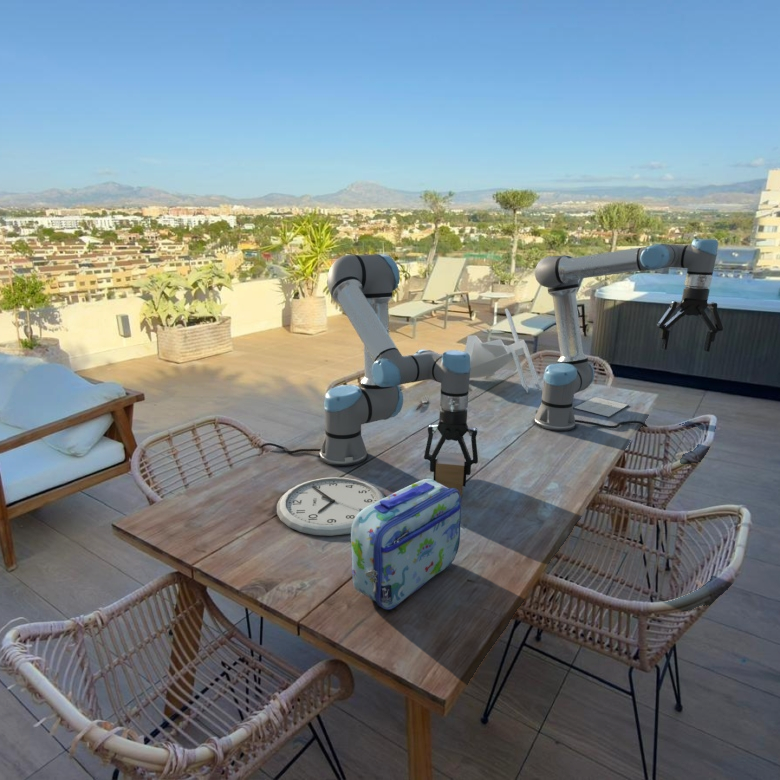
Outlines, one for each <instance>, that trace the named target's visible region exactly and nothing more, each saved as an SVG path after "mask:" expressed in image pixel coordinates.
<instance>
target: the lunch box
mask: <svg viewBox="0 0 780 780" xmlns="http://www.w3.org/2000/svg"><path fill="white" fill-rule="evenodd" d="M461 499H462V498H461V496H460V493H459V491H458V490H457V489H454V488H450V489H449V488H447V487H445V486H443V485H442V484H440V483H438V482H436V481H434V480H433V478H432V479H431V478H424V479H421V480H418V481H416V482H414V483H412V484H410V485H408V486H405V487H404V488H401V489H399V490H397V491H395V492H393V493H392V494H389V495H387V496H385V498H383V499H381V500H379V501H377V502H375V503H374V504H371V505H369V506H367V507H366V508H364V509H362V510H361V511H360V512H359V513H358V514H357V516H356V517H355V519H354V521H353V524H352V529H351V533H350V547H351V548H350V552H351V576H352V584H353V588H354V590H356V591H357V592H359V593H360V594H363V595H365V596H367V597H368V598H369V599H371V600H372V601H374V602H376V604H377V606H378V607H379V608H382V609H384V610H386V611H387V610H388V611H390V610H393V609H394V608H396V607H397V606H398V605H400V604H401V603H402V602H403V601H405V600H406V599H407V598H408V597H409V596H411V595H412V594H413V593H415V592H417V590H419V589H420V588H422V587H423V586H424V585H425V584H426V583H428V581H430V580H431V579H432V578H434V577H435V576H438V574H440V573H441V572H443V571H445V570H446V569H447V568H448V567H449V566H451V564H452V563H453V562H454V560H455V558H456V556H457V554H458V551H459V548H460V541H461V522H462V521H461V519H462V515H461V513H462V512H461V510H462V509H461V508H462V506H461V505H462V504H461V503H462V502H461Z"/></svg>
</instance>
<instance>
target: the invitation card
mask: <svg viewBox="0 0 780 780" xmlns="http://www.w3.org/2000/svg"><path fill="white" fill-rule="evenodd" d="M628 406H629V404H627V403H623V402H618V401H614V400H609V399H605V398H601V397H596V396H593V397H592V398H590V399H588V400H586V401H584V402H582V403H580V404H578V405H575V406H574V407H573V409H575V410H581V411H584V412H587V413H593V414H596V415H600V416H604V417H608V418H609V417H611V416H613V415H614V414H616V413H617V412H619V411H621V410H623V409H624V408H626V407H628Z"/></svg>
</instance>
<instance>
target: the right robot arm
mask: <svg viewBox="0 0 780 780" xmlns="http://www.w3.org/2000/svg"><path fill="white" fill-rule="evenodd" d="M718 246H719V241H718V240H717V239H713V238H711V239H709V238H694V239H693V240H692V242H691V244H673V243H672V244H671V243H655V244H651V245H648V246H642V247H635V248H628V249H622V250H617V251H616V250H615V251H609V252H602V253H598V254H590V255H584V256H577V257H573V256H570V255H565V254H563V255H555V256H554V255H553V256H551V255H550V256H547V257H544V258H542V259H540V261H538V263H537V264H536V266H535V268H534V277H535V280H536V281H537V283H538V284H539V285H540V286H542V287H544V288H546V289H547V293H548V295H549V296H551V297H552V301H553V311H554V317H555V325H556V331H557V340H558V346H559V353H560V357H559V358H558V359H557V360H556V361H557V363H551V364H549V365H547V366H546V367H545V370H544V373H543V381H542V382H543V383H542V394H541V402H540V405H539V407H538V409H536V410H535V416H534V424H535V425H536V426H537V427H539V428H542V429H544V430H549V431H556V432H567V431H572V430H574V429H575V428H576V423H577V424H586V425H592V426H597V427H601V428H604V429H605V428H606V429H616V428H619V427H620V426H621V425H627V424H639V425H642V426H643V427H644V428H648V427H649V426H648V425H647V424H646V423H645V422H643V421H640V420H628V421H620V422H618V423H617V424H616V425H608V424H603V423H599V422H593V421H587V420H580V419H576V418H575V417H576V416H575V413H574V407H573V405H574V398H575V394H578V393H580V392H582V391H584V390H586V389H588V387H589V386H591V385H592V383H593V382H594V379H595V370H594V368H593V366H592V365H591V364H590V363H589V356H588V355H586V354H585V353H584V349H583V342H582V334H581V333H582V332H581V326H580V318H579V309H578V302H577V295H576V294H577V292H578V290H579V289H580V284H579V280H580V279H587V278H588V279H589V278H596V277H602V276H611V275H619V274H627V273H633V272H642V271H643V272H644V271H655V270H661V269H667V268H675V269H686V275H685V281H684V286H685V287H684V288H683V291H682V296H681V301H676V300H671V302H670V304H669V307H668V308H667V310H666V311H665V312H664V314H663V316H662V317H661V318H660V320H659V321H658V323H656V327H657V328H659V329H661V333H660V339H661V340H662V344H661V349H662V350H664V351H665V350H667V349H668V344H669V339H670V332H671V330H669V329H670V328H672V327H673V326H674V325H675V324H677V322H679V320H680V319H682V318H683V317H684V316H685V315H686V316H695V317H698V316H699V317H700V318H701V319H702V321H703V322H704V324H705V325H706V327H707V328H708V329H709V330H707V331H706V336H705V342H704V347H703V350H704V351H705V352H707V353H708V352H709V353H710V350H711V347H712V343H713V342H715V340H716V335H717V333H718V332H722V331H724V326H723V324H722V323H723V322H722V321H721V317H720V315H719V312H718V303H717V302H714V301H712V302H708V299H709V296H710V288H711V285H712V281H713V280H712V279H713V275H714V269H715V264H716V260H717V256H718V248H719V247H718ZM679 307H680V309H679V310H678V311H677V313H676V314H674V313H675V311H676V309H678V308H679ZM707 308H708V310H710V314H711V317H712V320H713V322H712V320H711V319H710V318H709V316H708V314H707V313H706V311H705V310H706V309H707ZM673 314H674V315H673ZM672 315H673V316H672ZM671 316H672V317H671ZM713 323H714V324H713Z"/></svg>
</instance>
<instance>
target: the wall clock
mask: <svg viewBox="0 0 780 780" xmlns="http://www.w3.org/2000/svg"><path fill="white" fill-rule="evenodd" d="M385 497H386V496H385V494H384V493H383V492H382V491H381V490H380V489H379V488H377V487H376V486H374V485H372V484H371V483H369V482H365V481H362V480H359V479H355V478H349V477H338V476H337V477H335V476H333V477H332V476H331V477H322V478H317V479H312V480H307V481H305V482H302V483H299V484H297V485H295V486H293V487H292V488H290V489H288V490H287V491H286V492H285V493H284V494H283V495H281V496H280V498H279V499H278V502H277V503H276V515H277V517H278V518H279V520H280V521H281V522H282V523H283V524H285V525H286V526H287V527H288V528H290V529H293V530H295V531H297V532H299V533H303V534H308V535H312V536H327V537H328V536H329V537H331V536H332V537H333V536H342V535H350V534H351V529H352V524H353V521H354V519H355V517H356V516H357V514H358V513H359V512H360V511H361V510H362V509H364V508H366V507H367V506H369V505H371V504H374V503H375V502H377V501H379V500H381V499H383V498H385Z"/></svg>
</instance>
